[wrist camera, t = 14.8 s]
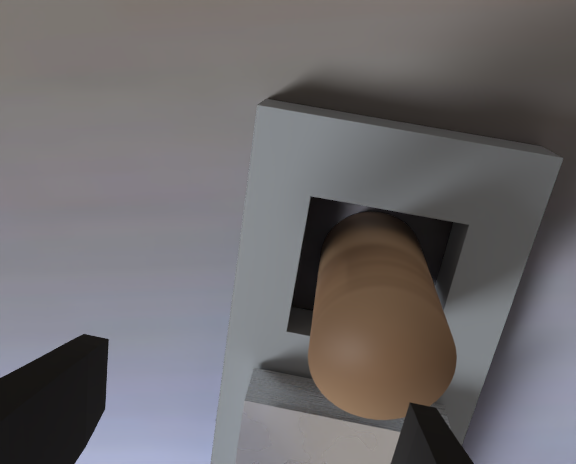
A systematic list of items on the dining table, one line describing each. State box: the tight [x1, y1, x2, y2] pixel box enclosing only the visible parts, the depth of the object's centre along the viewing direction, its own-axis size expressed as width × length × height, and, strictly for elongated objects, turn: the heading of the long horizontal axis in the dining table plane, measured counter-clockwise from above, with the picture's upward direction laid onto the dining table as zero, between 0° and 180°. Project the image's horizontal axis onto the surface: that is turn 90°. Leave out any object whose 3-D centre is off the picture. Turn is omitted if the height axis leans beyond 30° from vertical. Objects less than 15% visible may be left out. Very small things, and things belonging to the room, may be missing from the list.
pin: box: [308, 212, 457, 420], centre depth 17 cm, size 4×4×7 cm
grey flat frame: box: [211, 99, 563, 464], centre depth 21 cm, size 18×10×2 cm, turn 171°
